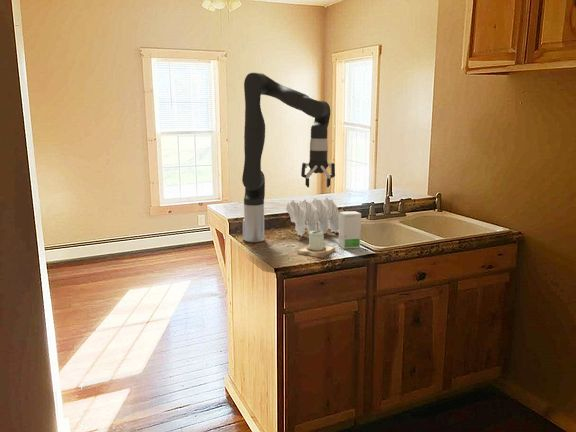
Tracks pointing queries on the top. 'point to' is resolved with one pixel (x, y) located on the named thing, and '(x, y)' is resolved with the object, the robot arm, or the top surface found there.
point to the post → (316, 251)
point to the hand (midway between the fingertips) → (317, 187)
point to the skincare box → (349, 229)
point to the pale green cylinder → (316, 240)
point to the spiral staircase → (314, 215)
